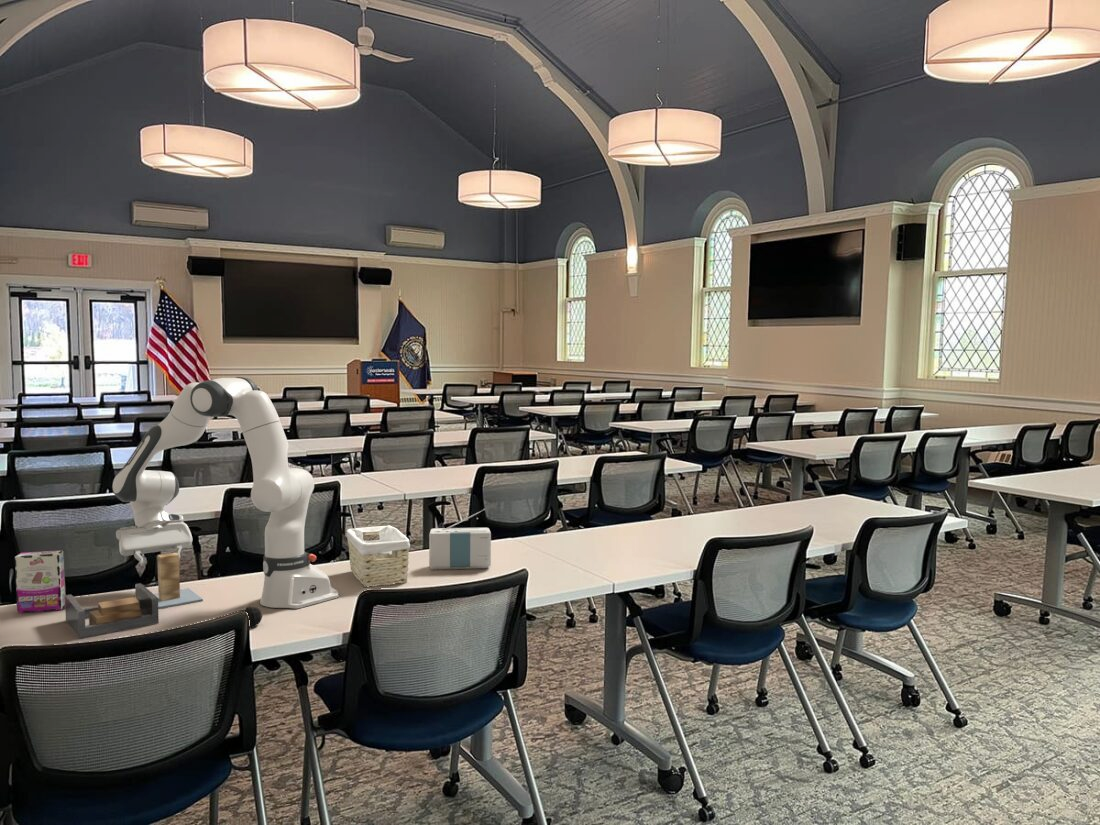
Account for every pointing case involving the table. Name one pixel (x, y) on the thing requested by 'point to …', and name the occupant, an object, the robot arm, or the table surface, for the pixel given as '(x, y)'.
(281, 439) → the robot arm
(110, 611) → the offcut stack
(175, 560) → the tan wooden block
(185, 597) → the slate mat
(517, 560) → the table surface
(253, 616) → the microphone
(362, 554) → the storage basket
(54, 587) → the candy bar box
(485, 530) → the stereo radio cassette player
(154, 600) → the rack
